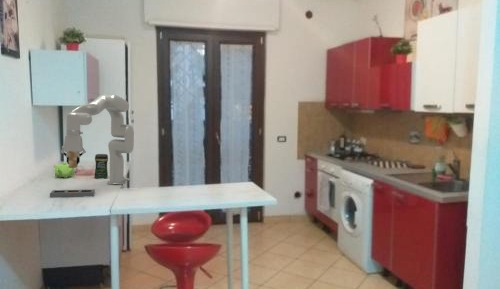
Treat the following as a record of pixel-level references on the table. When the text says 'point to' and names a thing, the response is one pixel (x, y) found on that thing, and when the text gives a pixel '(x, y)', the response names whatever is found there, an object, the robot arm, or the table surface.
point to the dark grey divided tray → (72, 193)
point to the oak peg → (73, 159)
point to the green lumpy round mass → (63, 170)
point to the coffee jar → (101, 166)
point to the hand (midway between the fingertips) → (73, 163)
